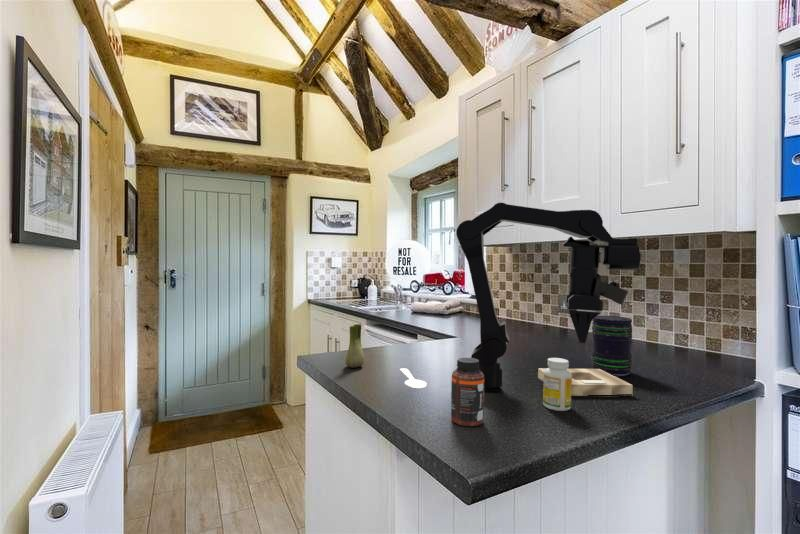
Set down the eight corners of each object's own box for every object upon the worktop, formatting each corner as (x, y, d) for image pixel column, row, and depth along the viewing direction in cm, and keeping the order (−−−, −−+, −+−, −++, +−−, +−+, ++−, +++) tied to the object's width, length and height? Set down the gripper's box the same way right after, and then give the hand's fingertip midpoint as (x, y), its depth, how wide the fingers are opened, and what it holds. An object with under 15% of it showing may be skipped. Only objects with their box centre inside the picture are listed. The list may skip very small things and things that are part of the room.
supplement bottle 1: (490, 426, 70) (491, 362, 70) (459, 429, 68) (460, 364, 68) (474, 414, 76) (475, 355, 76) (445, 416, 74) (446, 356, 74)
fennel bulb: (358, 363, 113) (358, 322, 113) (368, 367, 110) (369, 324, 110) (341, 367, 109) (342, 323, 109) (351, 370, 106) (352, 326, 106)
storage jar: (588, 372, 108) (589, 318, 108) (594, 365, 116) (594, 314, 116) (630, 378, 102) (631, 321, 102) (633, 370, 110) (634, 317, 110)
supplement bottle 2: (548, 411, 78) (549, 362, 78) (539, 402, 83) (540, 356, 83) (575, 411, 78) (576, 363, 78) (564, 402, 83) (565, 357, 83)
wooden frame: (561, 395, 88) (561, 383, 88) (538, 377, 102) (538, 367, 102) (632, 396, 88) (632, 384, 88) (599, 378, 102) (599, 368, 102)
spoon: (412, 369, 109) (412, 367, 109) (431, 389, 92) (431, 387, 92) (393, 370, 108) (393, 368, 108) (408, 390, 90) (408, 388, 90)
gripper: (633, 270, 75) (630, 351, 75) (619, 270, 92) (616, 336, 92) (570, 267, 79) (566, 345, 79) (567, 268, 96) (564, 331, 96)
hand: (581, 339), depth 87 cm, fingers open, 9 cm apart
